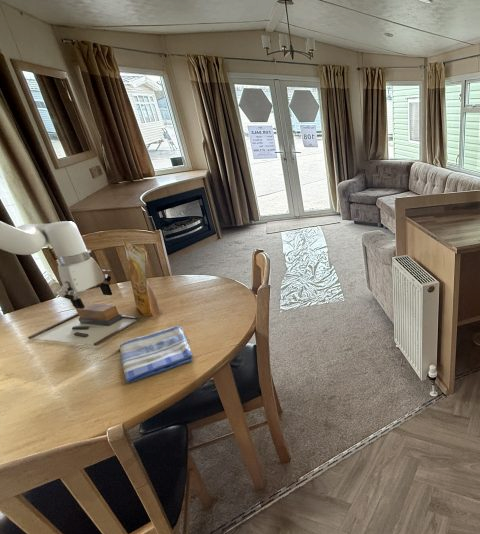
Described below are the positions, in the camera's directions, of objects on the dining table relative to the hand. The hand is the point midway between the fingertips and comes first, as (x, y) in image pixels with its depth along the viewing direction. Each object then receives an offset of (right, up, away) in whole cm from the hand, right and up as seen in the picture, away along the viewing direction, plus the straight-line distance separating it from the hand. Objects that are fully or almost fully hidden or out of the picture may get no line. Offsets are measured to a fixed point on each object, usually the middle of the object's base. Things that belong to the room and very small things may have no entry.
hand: (94, 301), depth 122 cm
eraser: (0, -8, +3) cm, 8 cm away
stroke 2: (+1, -11, -5) cm, 13 cm away
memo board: (-1, -11, -1) cm, 11 cm away
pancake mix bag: (+10, -5, +13) cm, 17 cm away
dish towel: (+33, -17, -12) cm, 38 cm away
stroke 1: (-3, -10, -2) cm, 10 cm away
